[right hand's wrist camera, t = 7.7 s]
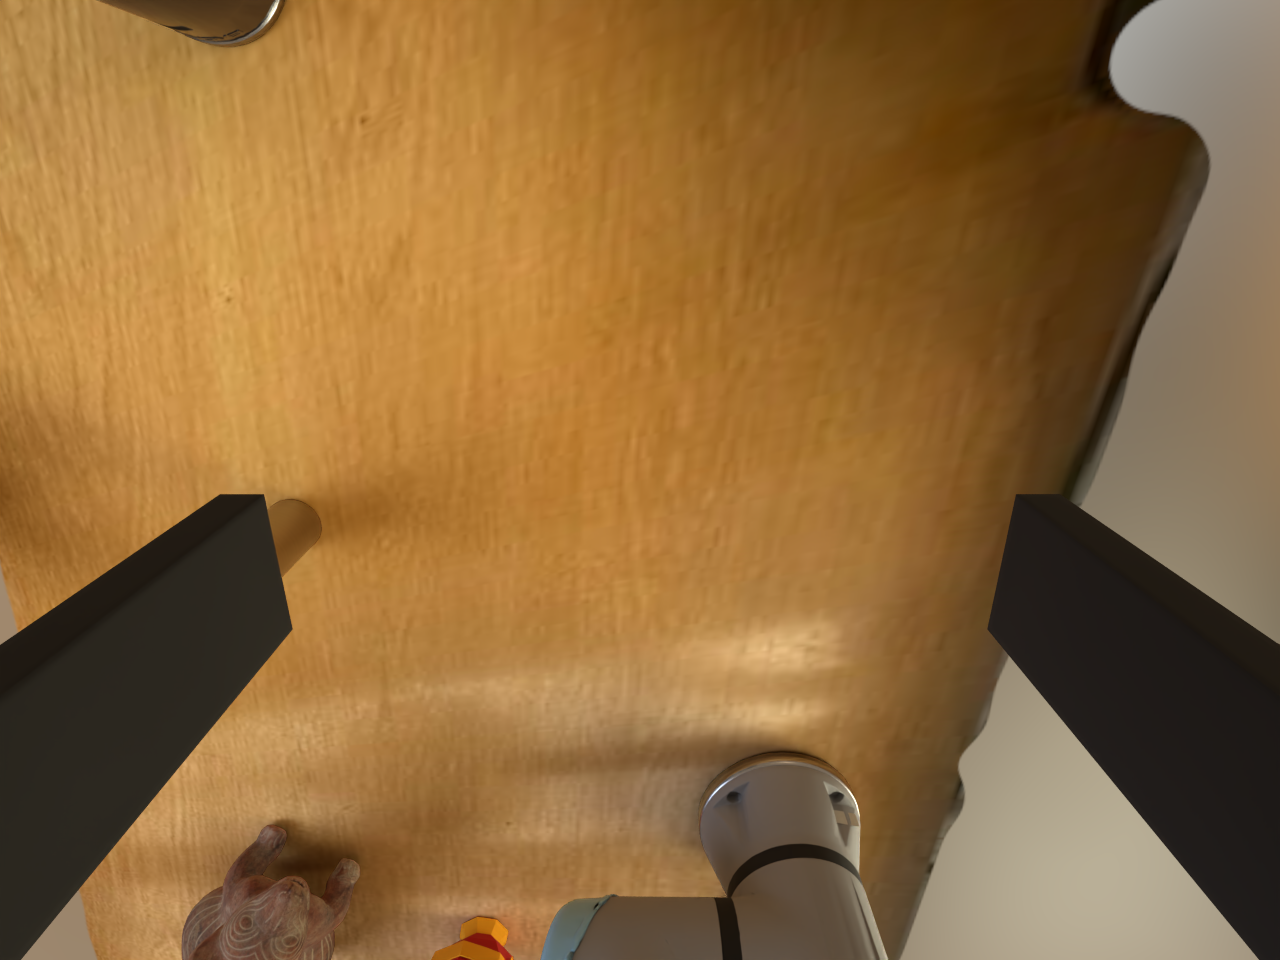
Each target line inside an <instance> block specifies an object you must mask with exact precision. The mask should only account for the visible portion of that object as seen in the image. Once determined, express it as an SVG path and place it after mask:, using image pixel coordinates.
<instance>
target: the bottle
mask: <svg viewBox="0 0 1280 960" xmlns="http://www.w3.org/2000/svg"><path fill="white" fill-rule="evenodd" d="M267 511H268V516H269V521H270V525H271V530H272V535H273V540H274V544H275V549H276V554H277V558H278V563H279V568H280V572H281V577H283V576H284V575H285V574H286V573H287V571H288V570H289V569H290V568H291V567H292V566H293V565H294V564H295V563H296V562H297V561H298V560H299V559H300V558H301V557H302V556H303V555H304V554H305V553H306V552H307V551H308V550H309V549H310V548H311V547H312V546H313V545H314V544H315V543H316V541H317V540H318V539H319V537H320V534H321V522H320V519H319V517H318V515H317V514H316V512H315V511H314V510H313V509H312V508H311V507H310V506H308V505H307V504H305V503H303V502H300V501H297V500H282V501H279V502H277V503H275V504H274V505H273V506H271V507H270V508H269V509H268V510H267Z"/></svg>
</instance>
